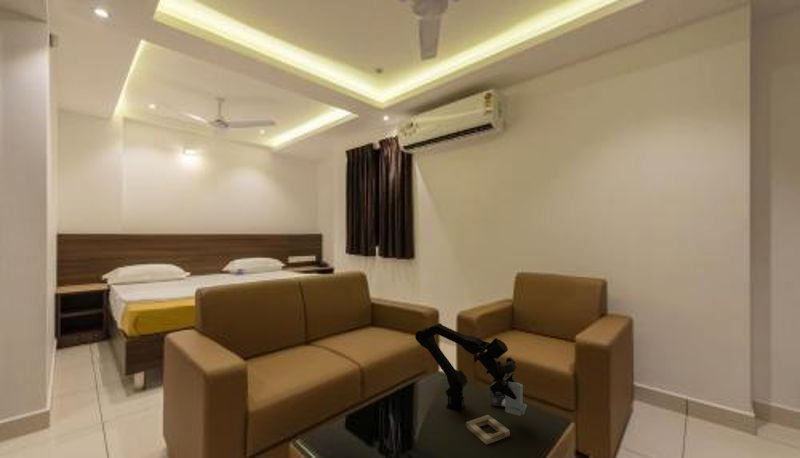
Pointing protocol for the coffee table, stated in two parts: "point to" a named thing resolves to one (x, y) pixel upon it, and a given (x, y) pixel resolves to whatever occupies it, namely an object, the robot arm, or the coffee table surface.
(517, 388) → the servo
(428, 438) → the coffee table surface
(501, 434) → the plate
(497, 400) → the mini dv tape
